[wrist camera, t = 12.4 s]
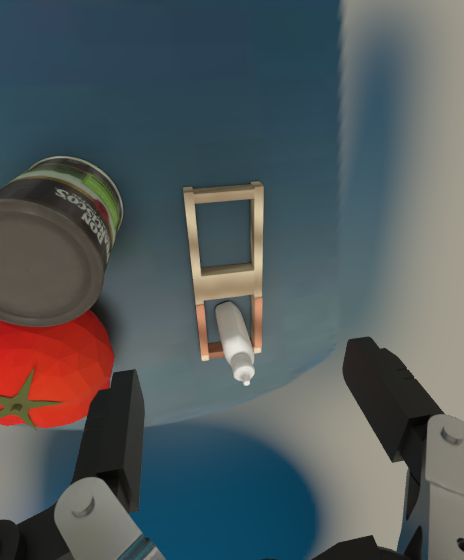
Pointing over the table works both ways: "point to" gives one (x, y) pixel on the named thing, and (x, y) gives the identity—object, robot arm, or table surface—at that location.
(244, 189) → the rail
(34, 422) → the tomato
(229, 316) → the eye dropper bottle
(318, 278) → the table surface
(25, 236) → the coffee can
